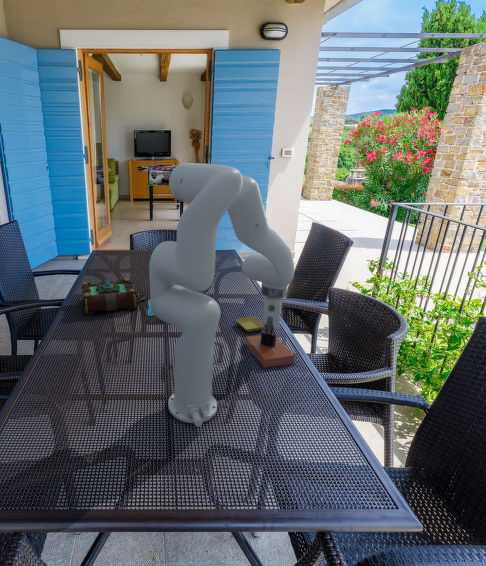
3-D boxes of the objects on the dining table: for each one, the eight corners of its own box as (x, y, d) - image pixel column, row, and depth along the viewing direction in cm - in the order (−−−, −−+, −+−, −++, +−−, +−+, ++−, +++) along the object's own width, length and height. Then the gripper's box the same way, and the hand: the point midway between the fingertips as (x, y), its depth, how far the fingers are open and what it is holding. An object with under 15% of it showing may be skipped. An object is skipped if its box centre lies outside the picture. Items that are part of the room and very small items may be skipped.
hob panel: (293, 363, 116) (295, 354, 115) (263, 367, 114) (264, 359, 113) (272, 341, 128) (273, 333, 127) (244, 344, 126) (245, 336, 125)
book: (141, 290, 171) (141, 269, 167) (152, 309, 152) (151, 286, 148) (82, 296, 164) (80, 274, 161) (84, 317, 145) (82, 293, 142)
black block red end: (275, 343, 121) (276, 332, 119) (274, 346, 120) (276, 334, 118) (260, 341, 122) (261, 330, 121) (260, 344, 121) (261, 332, 119)
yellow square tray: (234, 324, 140) (234, 319, 140) (254, 320, 143) (255, 315, 142) (246, 334, 133) (246, 329, 132) (267, 331, 135) (267, 325, 135)
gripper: (285, 302, 106) (278, 358, 113) (287, 282, 120) (281, 333, 127) (258, 298, 108) (253, 353, 115) (263, 280, 122) (258, 330, 129)
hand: (267, 342), depth 121 cm, fingers closed, pressing on black block red end
